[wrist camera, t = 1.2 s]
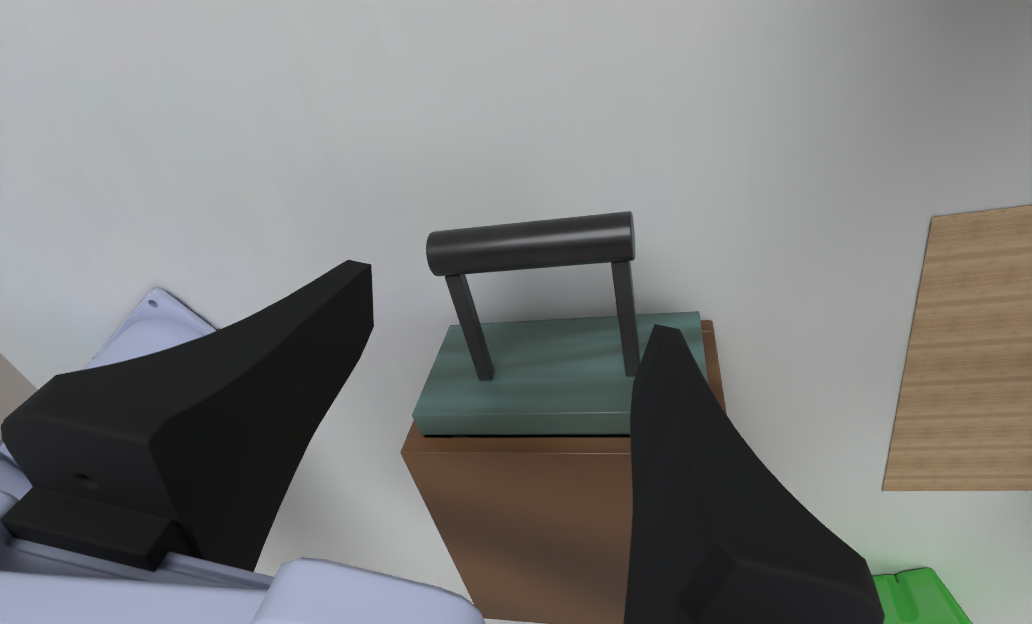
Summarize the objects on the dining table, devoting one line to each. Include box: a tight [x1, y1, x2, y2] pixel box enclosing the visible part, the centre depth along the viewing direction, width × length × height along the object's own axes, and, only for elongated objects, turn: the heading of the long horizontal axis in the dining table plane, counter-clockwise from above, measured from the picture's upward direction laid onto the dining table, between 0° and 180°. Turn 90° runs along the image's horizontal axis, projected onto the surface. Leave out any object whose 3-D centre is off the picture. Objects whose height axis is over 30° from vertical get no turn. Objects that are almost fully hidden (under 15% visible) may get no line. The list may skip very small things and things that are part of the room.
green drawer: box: [412, 211, 708, 438], centre depth 25 cm, size 19×11×6 cm, turn 12°
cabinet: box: [401, 320, 727, 624], centre depth 28 cm, size 14×13×8 cm
